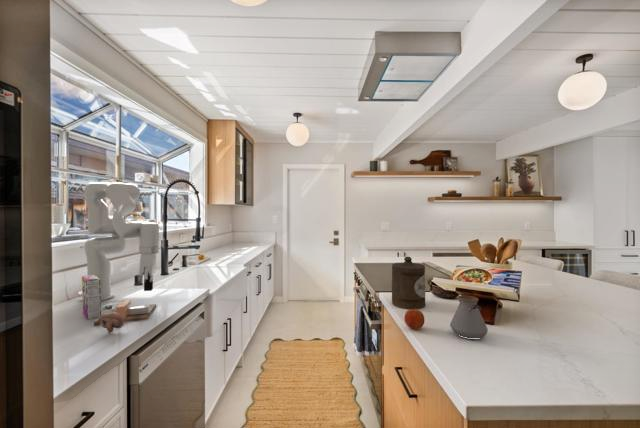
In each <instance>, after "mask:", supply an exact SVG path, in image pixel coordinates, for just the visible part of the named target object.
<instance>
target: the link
mask: <svg viewBox="0 0 640 428" xmlns="http://www.w3.org/2000/svg"><path fill="white" fill-rule="evenodd" d="M147 305H148V306H141V305H135V306H136V307H131V306H127V315H136V314H147V313H149V312H150V311H151V304H147ZM116 307H117V306H113V305H112V304H109V305H105V307H104V308H101V315H102V314H104V313H108V312H116Z"/></svg>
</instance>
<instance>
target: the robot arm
mask: <svg viewBox="0 0 640 428" xmlns="http://www.w3.org/2000/svg"><path fill="white" fill-rule="evenodd" d="M83 196H84V200H85V203H86V207H87V228H88V232H89V233H90V234H92V235H98V236H97V237H92V238H89V239H87V240H86V241H85V243H84V251H85V257H86V264H87V265H86V268H87V269H86V270H87V273H86V274H87V275H86V276H90V275H96V276H97V277H98V278H100V294H101V301H105V300H109V299H112V298H114V297H115V293H113V292H111V291H112V289H111V285H112V283H111V281H112V280H111V277H112V276H111V275H112V274H111V262H110V260H109V259H108V258H107V256H108V255H109V256H111V255H116V254H121V253H122V252H124V251H125V249H126V239H139V242H138V243H139V245H138V246H139V248H138V249H139V250H138V251H139V253H138V254H139V255H140V259H139V260H140V261H139V272H138V273H139V274H138V276H139V277H141V278H142V277H143V291H145V292H149V291H150V292H151V291H153V290H154V274H155V273H156V270H157V254H159V253H160V252H159V251H160V249H159V247H160V246H159V245H160V244H159V243H160V242H159V241H160V239H159V238H160V225H159V224H158V223H157V222H150V221H125V219H124V216H127V215H129V214H131V213H132V212H134V211H135V210H136V208H137V204H136V202H135V201H137V200H138V199H139V198H140V196H141V190H140V188H139V187H138V185H136V184H134V183H126V182H103V181H101V182H89V183H87V184H86V185H85V187H84V191H83ZM104 200H109V201H110V202H111V204H112V206H113V208H114V212H113V214H112V215H109V206H108V205H107V203H106V202H105V201H104ZM101 235H111V236H101ZM77 296H78V297H82V291H79V292H78V293H77Z"/></svg>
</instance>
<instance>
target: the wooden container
mask: <svg viewBox="0 0 640 428" xmlns="http://www.w3.org/2000/svg"><path fill="white" fill-rule="evenodd" d="M412 259H413V258H412V257H411V256H405V257H404V258H403V260H404V261H403V262H395V263H392V265H391V304H392V305H393V306H395V307H396V308H400V309H405V310H410V309H416V310H419V309H422V308H425V307H426V266H425V264H421V263H417V262H413V261H412ZM414 307H415V308H414Z"/></svg>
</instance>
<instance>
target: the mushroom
mask: <svg viewBox="0 0 640 428" xmlns="http://www.w3.org/2000/svg"><path fill="white" fill-rule="evenodd" d="M98 319H99V323H100V324H101V325H100V326H101V327H102V328H104V329H106V330H107V332H108V334H112V333H113V332H114V330H115V329H116V330H117V329H118V330H119V329H121V328H122V327H123V326H124V325H125V324H124V323H125V322H124V319H123V317H122V316H121V315H120V314H118V313H117V312H108V313H104V314H102V315H101V316H100V317H98Z"/></svg>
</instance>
